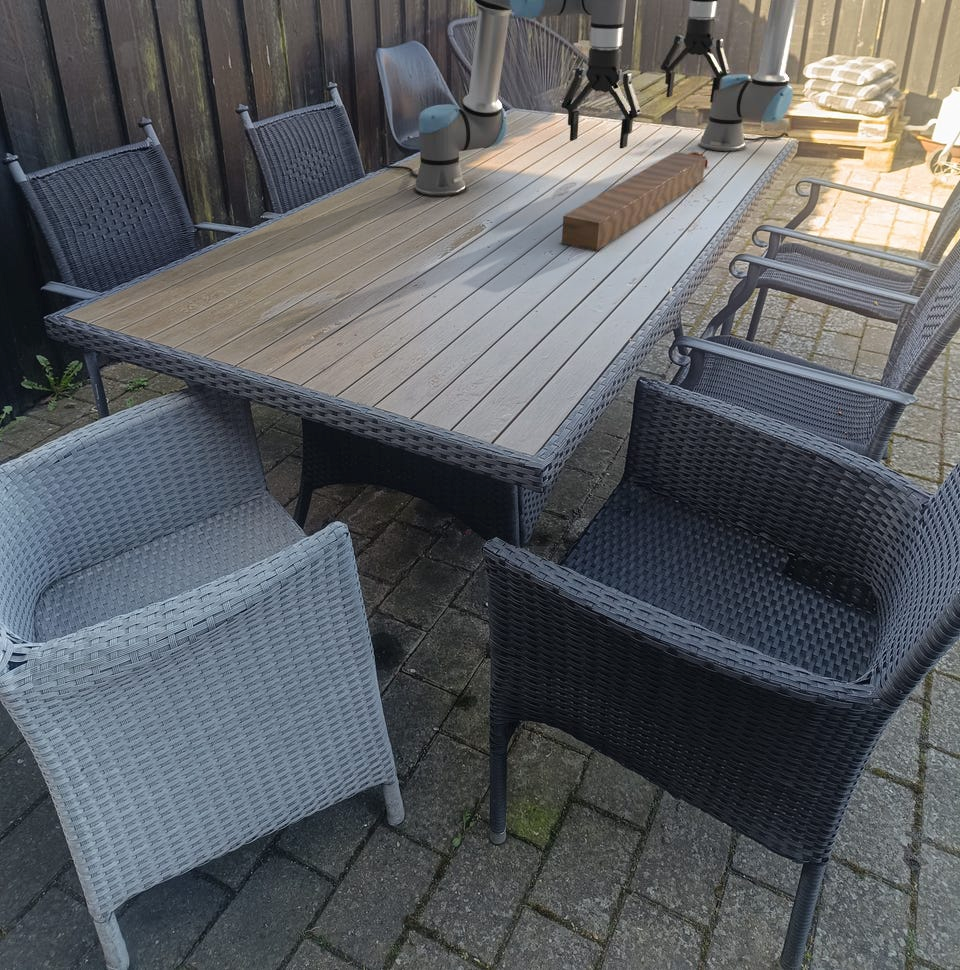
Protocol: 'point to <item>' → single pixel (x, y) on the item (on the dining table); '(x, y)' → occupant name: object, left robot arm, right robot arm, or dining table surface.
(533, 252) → the dining table surface
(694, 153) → the dark red rounded lump
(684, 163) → the thick board
